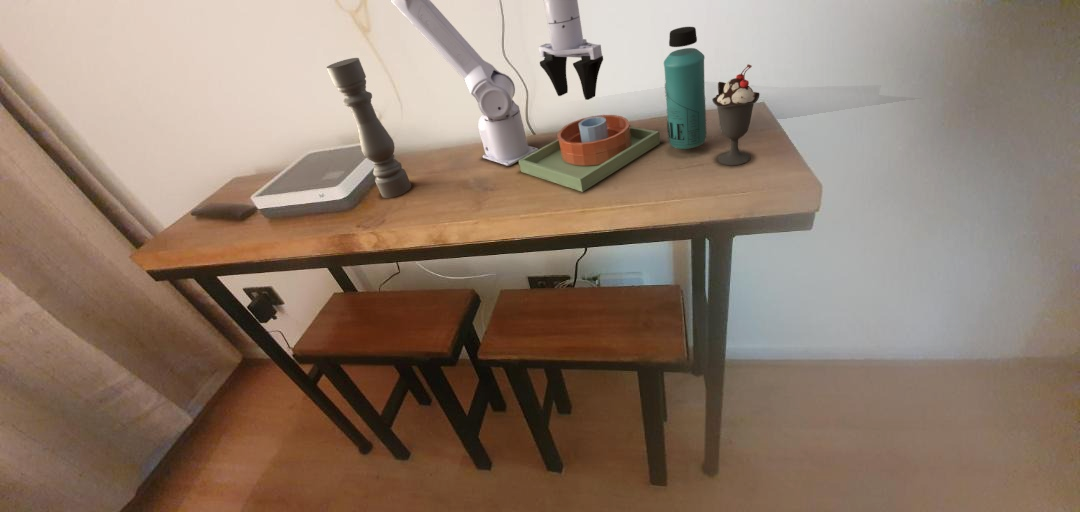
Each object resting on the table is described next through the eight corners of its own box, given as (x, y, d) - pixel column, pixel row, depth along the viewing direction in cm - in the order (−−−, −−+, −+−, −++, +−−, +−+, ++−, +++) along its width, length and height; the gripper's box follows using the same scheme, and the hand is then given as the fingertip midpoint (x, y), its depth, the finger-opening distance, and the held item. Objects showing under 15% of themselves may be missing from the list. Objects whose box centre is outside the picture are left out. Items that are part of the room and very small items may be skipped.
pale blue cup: (577, 153, 91) (572, 125, 88) (596, 142, 94) (592, 115, 90) (596, 157, 88) (592, 129, 85) (615, 146, 90) (611, 118, 87)
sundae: (760, 165, 75) (765, 67, 66) (714, 169, 77) (714, 74, 68) (753, 148, 80) (757, 54, 72) (710, 152, 82) (710, 61, 73)
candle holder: (384, 201, 94) (326, 70, 80) (378, 190, 99) (323, 66, 85) (414, 189, 95) (362, 59, 81) (407, 179, 100) (357, 55, 86)
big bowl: (548, 161, 93) (543, 137, 90) (595, 135, 99) (592, 111, 96) (598, 175, 84) (593, 148, 81) (646, 145, 89) (644, 119, 87)
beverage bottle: (711, 142, 85) (711, 20, 74) (700, 158, 81) (697, 32, 70) (675, 140, 88) (669, 24, 77) (662, 156, 84) (654, 36, 73)
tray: (521, 171, 92) (518, 160, 90) (594, 130, 101) (593, 119, 99) (582, 192, 80) (580, 179, 78) (659, 143, 89) (659, 131, 88)
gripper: (609, 11, 81) (618, 91, 88) (553, 14, 91) (565, 86, 99) (580, 23, 78) (592, 105, 85) (524, 24, 88) (540, 98, 95)
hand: (576, 96), depth 92 cm, fingers open, 7 cm apart
